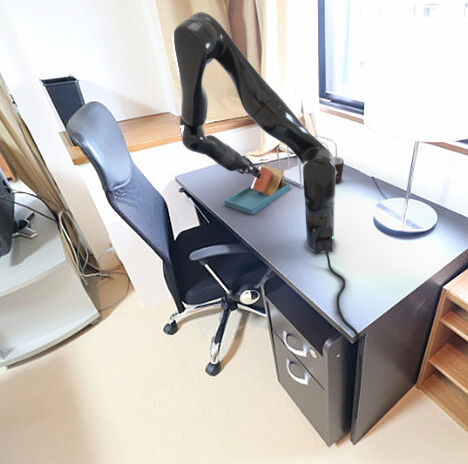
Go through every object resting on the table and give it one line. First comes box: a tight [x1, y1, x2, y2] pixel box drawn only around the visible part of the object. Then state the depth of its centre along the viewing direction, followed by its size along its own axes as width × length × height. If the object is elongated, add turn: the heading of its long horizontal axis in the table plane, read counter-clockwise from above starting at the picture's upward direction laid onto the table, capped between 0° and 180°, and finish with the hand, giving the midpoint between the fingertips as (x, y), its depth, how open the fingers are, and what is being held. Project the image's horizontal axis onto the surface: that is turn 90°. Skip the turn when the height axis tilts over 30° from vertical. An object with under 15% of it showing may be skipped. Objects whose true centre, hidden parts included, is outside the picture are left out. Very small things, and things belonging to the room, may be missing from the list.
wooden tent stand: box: [252, 164, 285, 196], centre depth 139 cm, size 10×12×9 cm
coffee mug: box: [333, 156, 345, 185], centre depth 147 cm, size 12×9×10 cm
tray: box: [224, 181, 291, 216], centre depth 137 cm, size 26×15×3 cm, turn 148°
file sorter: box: [276, 134, 338, 188], centre depth 151 cm, size 25×17×16 cm
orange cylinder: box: [250, 166, 273, 195], centre depth 136 cm, size 12×6×12 cm, turn 148°
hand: (251, 174), depth 129 cm, fingers open, 8 cm apart
